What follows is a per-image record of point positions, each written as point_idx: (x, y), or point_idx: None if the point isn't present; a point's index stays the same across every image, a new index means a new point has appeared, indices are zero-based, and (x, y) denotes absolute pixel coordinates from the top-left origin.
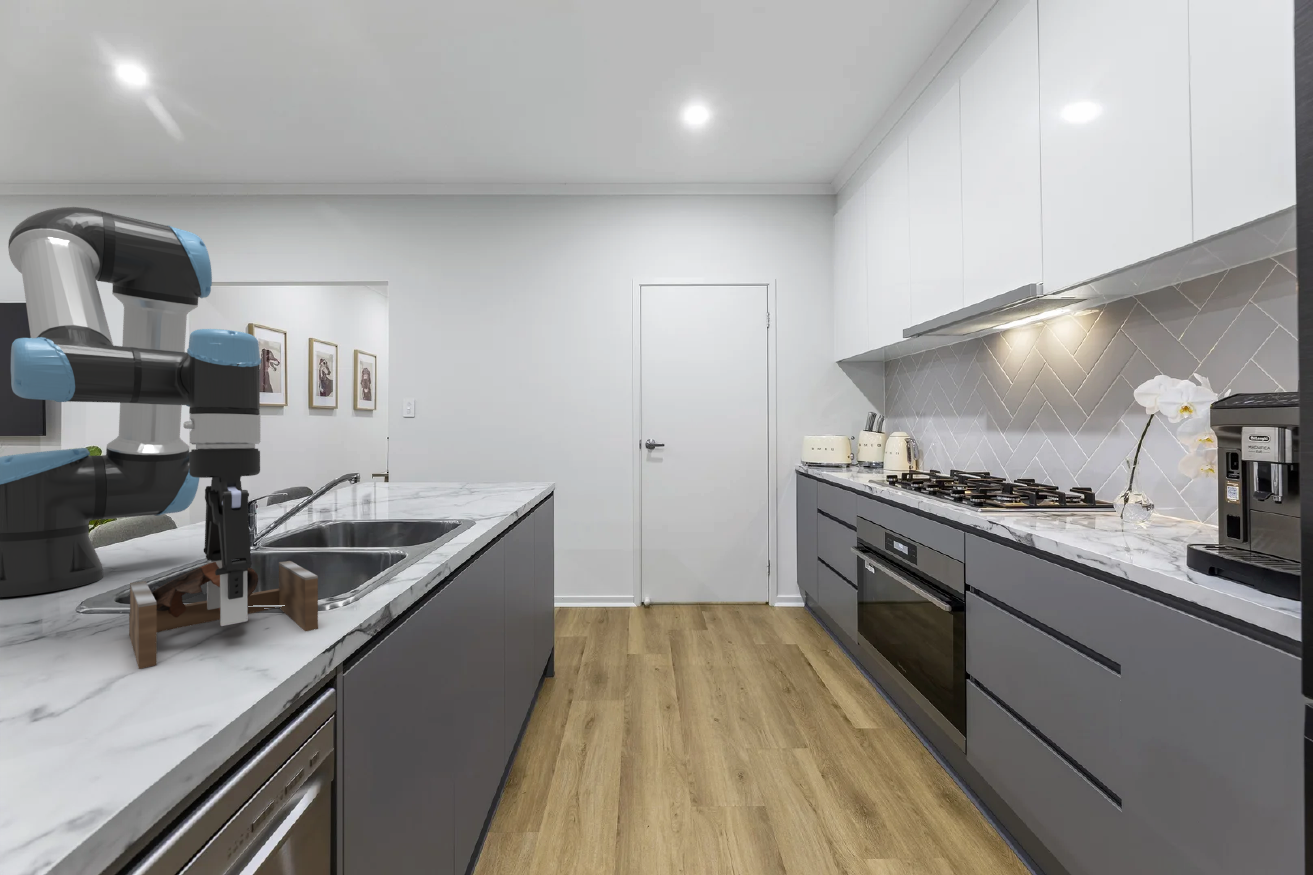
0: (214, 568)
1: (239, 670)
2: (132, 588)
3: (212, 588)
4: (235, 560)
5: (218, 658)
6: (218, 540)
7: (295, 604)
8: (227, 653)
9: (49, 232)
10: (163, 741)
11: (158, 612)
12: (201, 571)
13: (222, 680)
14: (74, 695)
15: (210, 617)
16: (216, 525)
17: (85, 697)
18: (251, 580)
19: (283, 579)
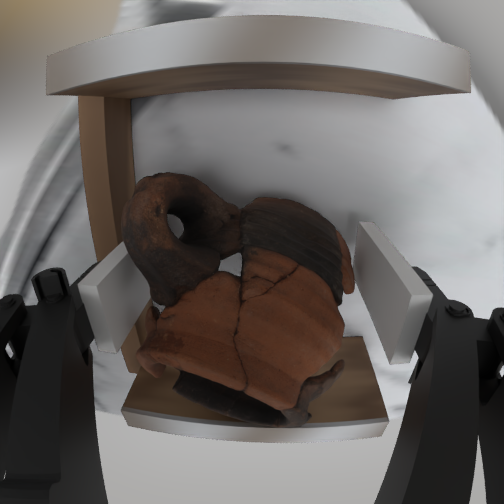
0: (267, 367)
1: (488, 253)
2: (193, 436)
3: (147, 288)
4: (498, 367)
5: (415, 266)
6: (84, 398)
7: (311, 83)
8: (402, 251)
9: None
10: None
11: (140, 341)
12: (300, 398)
13: (498, 276)
14: (389, 393)
15: None
16: (95, 487)
17: (407, 385)
18: (183, 198)
19: (137, 83)
